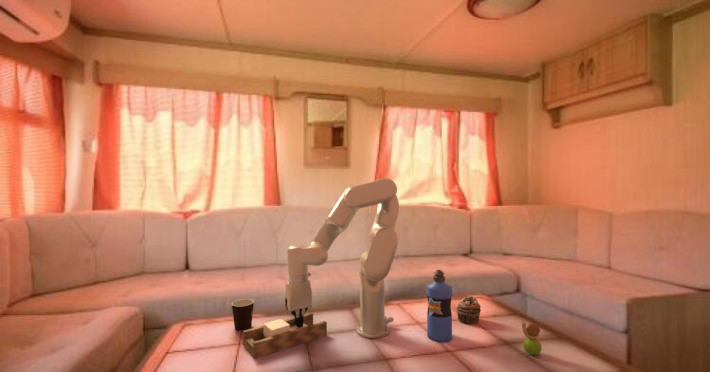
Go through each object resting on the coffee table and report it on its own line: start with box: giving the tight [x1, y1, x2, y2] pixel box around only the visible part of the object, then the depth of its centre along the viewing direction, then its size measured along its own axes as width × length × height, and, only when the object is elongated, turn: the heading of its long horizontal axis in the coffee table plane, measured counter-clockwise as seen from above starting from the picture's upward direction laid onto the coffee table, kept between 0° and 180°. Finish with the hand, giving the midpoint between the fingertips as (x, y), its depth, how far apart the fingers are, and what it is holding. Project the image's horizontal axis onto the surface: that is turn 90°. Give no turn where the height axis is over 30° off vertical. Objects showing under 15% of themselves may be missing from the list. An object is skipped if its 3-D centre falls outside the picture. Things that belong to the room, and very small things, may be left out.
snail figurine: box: [520, 318, 543, 356], centre depth 111 cm, size 5×6×12 cm
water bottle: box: [426, 269, 453, 343], centre depth 125 cm, size 9×9×25 cm
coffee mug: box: [231, 298, 255, 332], centre depth 136 cm, size 12×9×10 cm
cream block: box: [263, 318, 290, 338], centre depth 120 cm, size 7×7×4 cm
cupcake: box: [455, 296, 481, 326], centre depth 139 cm, size 10×10×10 cm
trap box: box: [242, 312, 328, 359], centre depth 123 cm, size 28×12×5 cm, turn 127°
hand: (299, 326), depth 126 cm, fingers closed
